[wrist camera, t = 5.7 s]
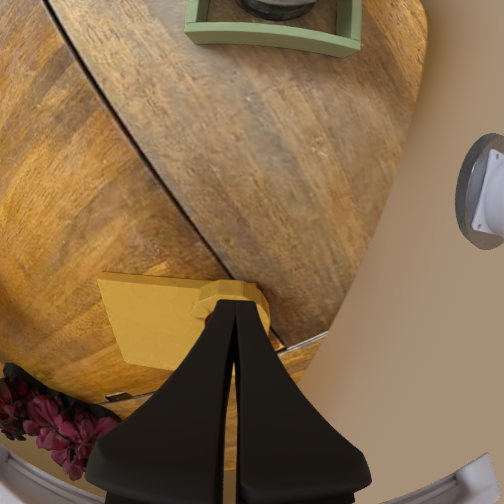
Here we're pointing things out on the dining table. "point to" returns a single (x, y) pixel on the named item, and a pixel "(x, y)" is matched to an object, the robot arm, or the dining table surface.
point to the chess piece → (277, 8)
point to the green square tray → (279, 31)
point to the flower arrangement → (51, 419)
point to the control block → (167, 313)
